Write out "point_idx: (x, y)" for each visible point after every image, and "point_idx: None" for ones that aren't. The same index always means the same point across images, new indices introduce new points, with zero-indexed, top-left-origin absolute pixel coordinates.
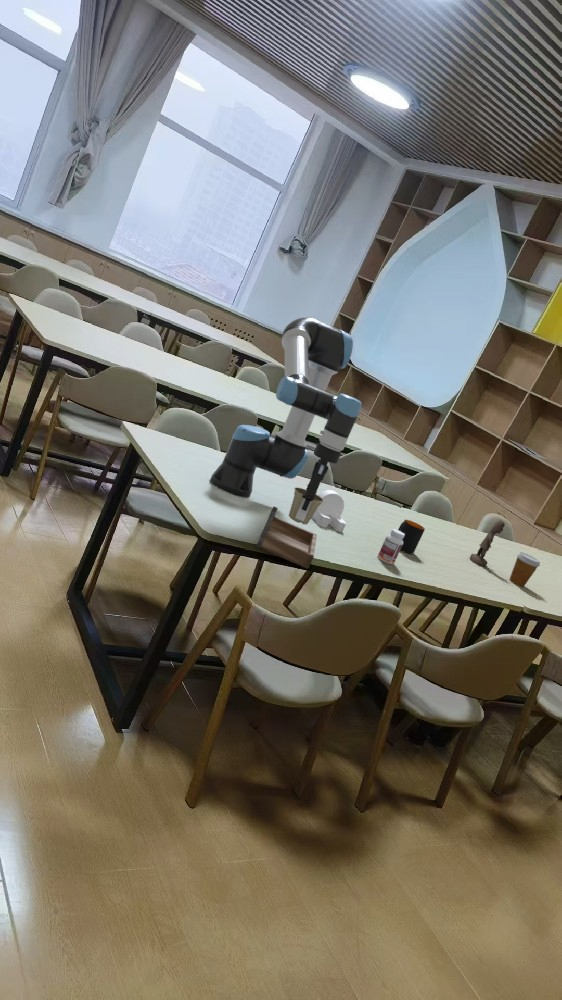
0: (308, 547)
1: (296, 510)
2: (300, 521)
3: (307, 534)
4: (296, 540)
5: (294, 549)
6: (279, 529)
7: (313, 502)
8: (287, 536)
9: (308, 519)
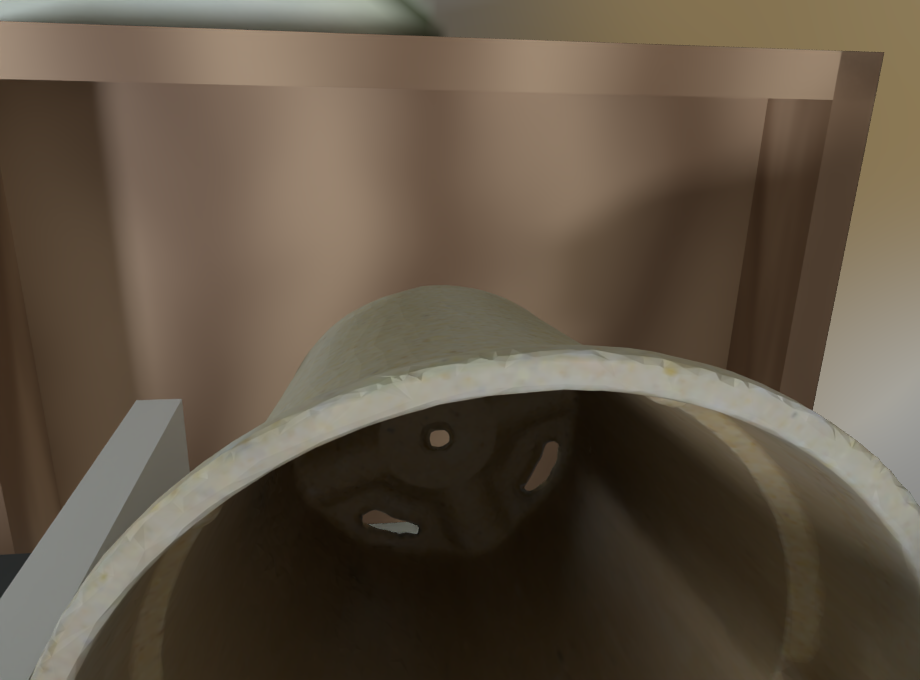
0: (183, 84)
1: (621, 582)
2: (593, 403)
3: None
4: (122, 235)
5: (833, 268)
6: (44, 438)
7: (865, 558)
8: (127, 336)
9: (558, 330)
